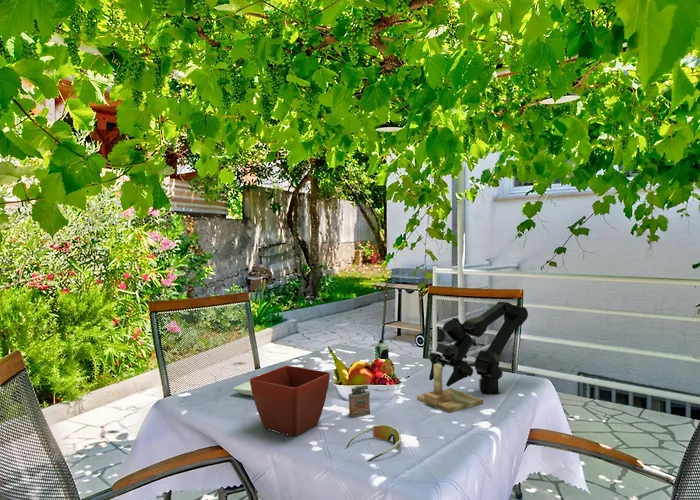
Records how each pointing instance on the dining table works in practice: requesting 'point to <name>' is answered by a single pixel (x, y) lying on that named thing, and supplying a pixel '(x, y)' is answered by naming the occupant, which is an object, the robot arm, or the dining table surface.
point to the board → (455, 401)
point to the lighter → (359, 402)
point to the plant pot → (290, 398)
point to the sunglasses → (382, 436)
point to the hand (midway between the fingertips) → (438, 382)
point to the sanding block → (438, 389)
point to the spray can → (381, 350)
